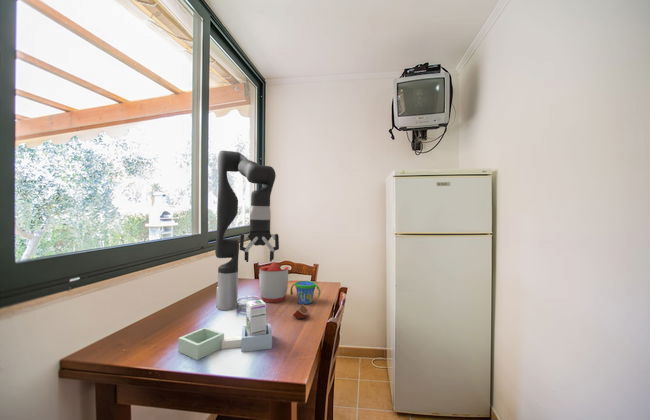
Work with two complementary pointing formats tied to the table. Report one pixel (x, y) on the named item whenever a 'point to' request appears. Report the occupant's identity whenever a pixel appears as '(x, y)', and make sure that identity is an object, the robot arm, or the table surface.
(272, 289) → the citrus juicer
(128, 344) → the table surface
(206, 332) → the holder caddy
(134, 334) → the table surface
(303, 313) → the fruit slice
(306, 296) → the snack cup
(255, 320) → the syrup box
